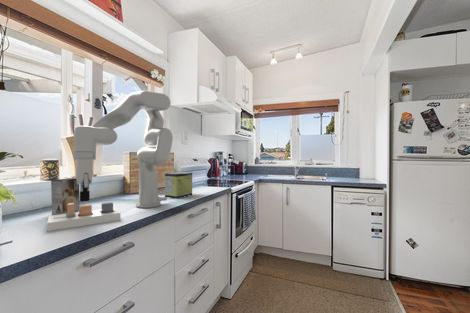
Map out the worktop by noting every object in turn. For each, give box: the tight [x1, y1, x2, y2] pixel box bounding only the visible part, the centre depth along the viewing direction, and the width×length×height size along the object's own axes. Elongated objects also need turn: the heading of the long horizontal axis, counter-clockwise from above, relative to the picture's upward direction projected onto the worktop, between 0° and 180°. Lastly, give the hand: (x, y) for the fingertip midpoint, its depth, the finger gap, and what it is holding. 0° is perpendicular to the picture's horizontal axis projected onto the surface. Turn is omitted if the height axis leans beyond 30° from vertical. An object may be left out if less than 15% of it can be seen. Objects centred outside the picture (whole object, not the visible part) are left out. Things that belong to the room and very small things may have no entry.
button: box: [101, 202, 114, 213], centre depth 100 cm, size 4×4×4 cm
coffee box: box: [50, 177, 80, 216], centre depth 110 cm, size 9×6×16 cm
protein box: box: [164, 171, 193, 199], centre depth 154 cm, size 10×16×16 cm
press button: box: [78, 204, 93, 217], centre depth 96 cm, size 4×4×4 cm
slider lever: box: [66, 203, 76, 217], centre depth 93 cm, size 3×4×5 cm
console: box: [47, 207, 121, 232], centre depth 96 cm, size 24×12×3 cm, turn 127°
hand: (84, 200), depth 95 cm, fingers closed
